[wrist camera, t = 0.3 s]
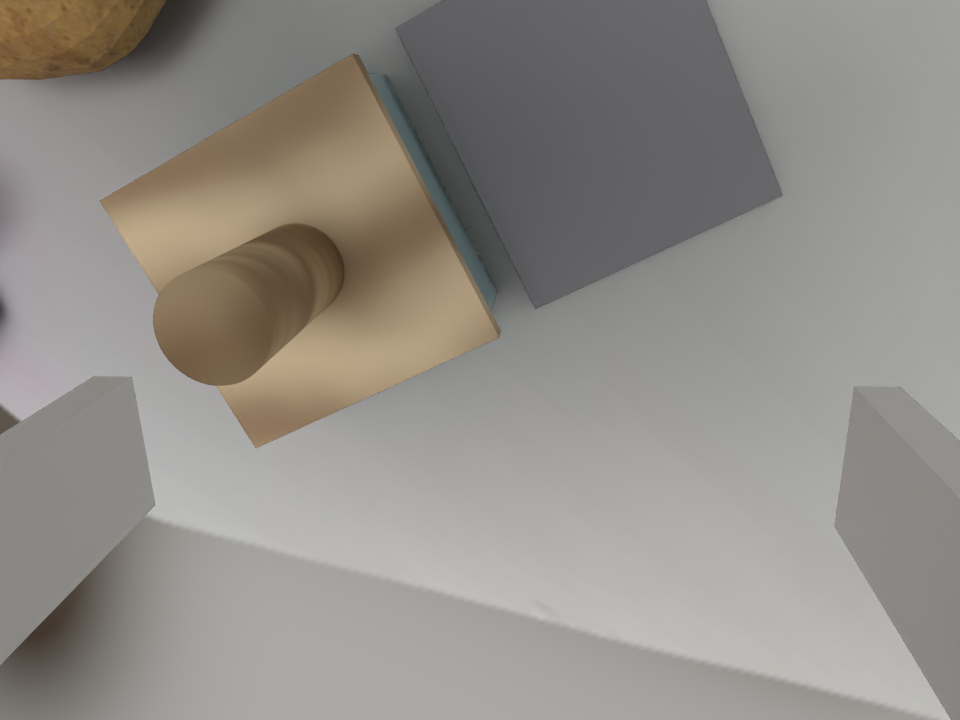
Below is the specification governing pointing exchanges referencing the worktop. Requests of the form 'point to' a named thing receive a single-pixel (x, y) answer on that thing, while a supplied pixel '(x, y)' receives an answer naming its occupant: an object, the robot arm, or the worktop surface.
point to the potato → (70, 35)
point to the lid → (301, 258)
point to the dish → (434, 186)
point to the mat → (591, 127)
